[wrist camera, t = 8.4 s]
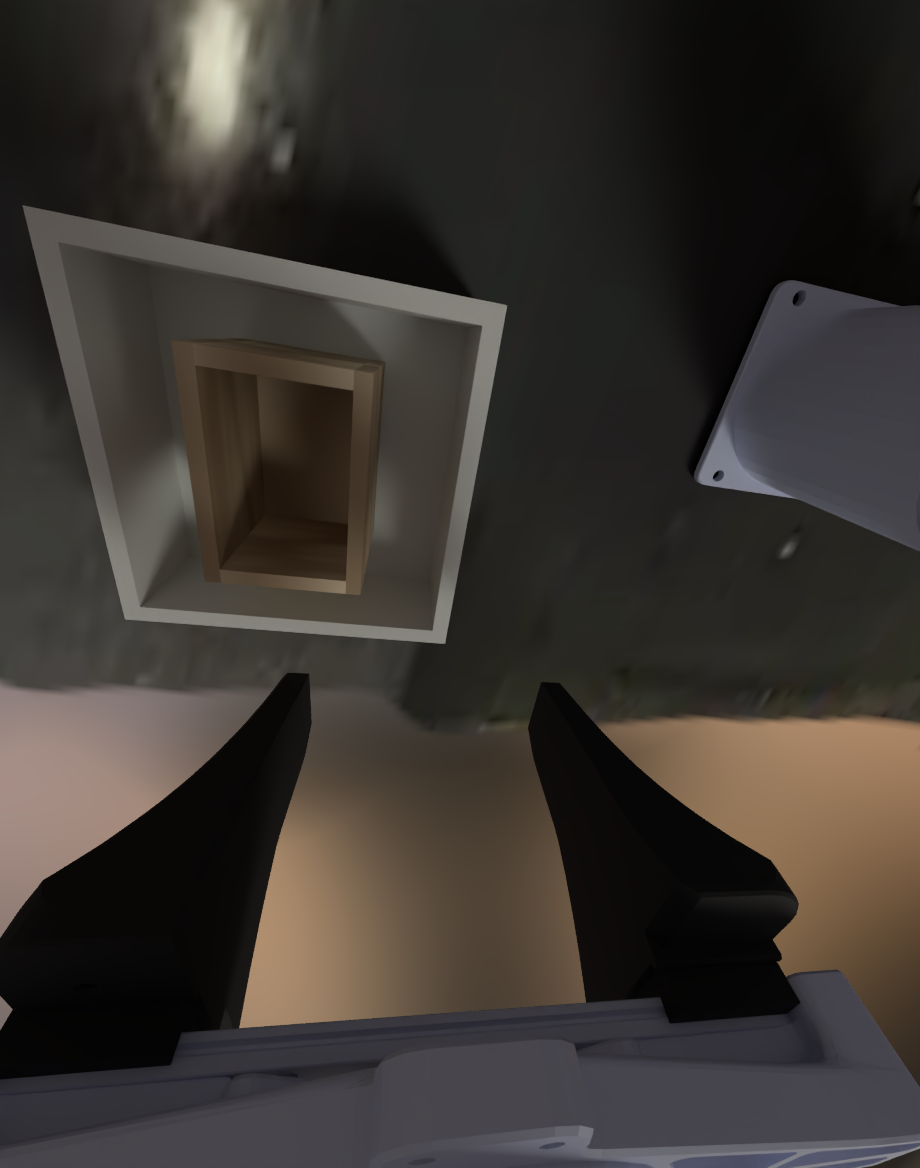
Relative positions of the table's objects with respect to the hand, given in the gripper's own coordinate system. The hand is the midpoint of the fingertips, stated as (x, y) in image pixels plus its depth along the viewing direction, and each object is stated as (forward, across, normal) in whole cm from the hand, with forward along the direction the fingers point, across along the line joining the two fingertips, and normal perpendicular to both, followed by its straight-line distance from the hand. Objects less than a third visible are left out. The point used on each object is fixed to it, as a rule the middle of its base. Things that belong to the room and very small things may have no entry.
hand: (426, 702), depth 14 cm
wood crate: (+9, +5, -5) cm, 11 cm away
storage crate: (+9, +5, -5) cm, 12 cm away
